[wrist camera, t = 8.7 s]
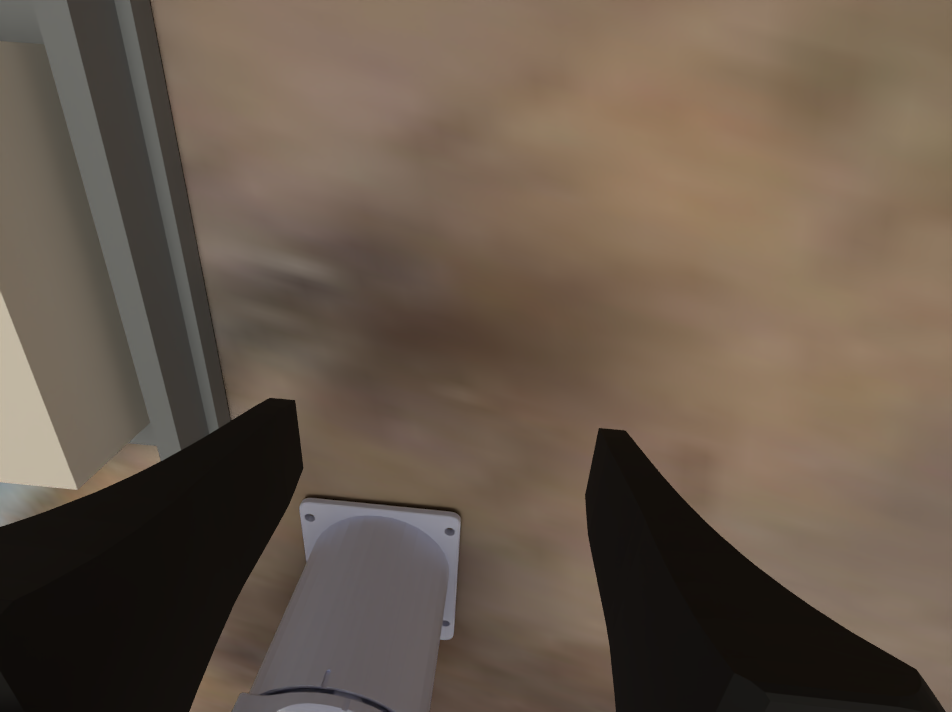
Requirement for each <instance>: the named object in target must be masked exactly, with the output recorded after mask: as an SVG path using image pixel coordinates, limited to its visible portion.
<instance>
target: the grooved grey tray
mask: <svg viewBox="0 0 952 712" xmlns="http://www.w3.org/2000/svg"><path fill="white" fill-rule="evenodd" d="M0 41H6V42H20V43H34V44H44V45H45V49H46V52H47V56H48V59H49V63H50V66H51V70H52V74H53V77H54V81H55V84H56V88H57V91H58V95H59V99H60V102H61V106H62V109H63V113H64V116H65V120H66V124H67V127H68V131H69V134H70V138H71V141H72V145H73V149H74V152H75V156H76V159H77V163H78V166H79V170H80V174H81V177H82V181H83V184H84V188H85V191H86V195H87V199H88V202H89V206H90V209H91V213H92V216H93V220H94V224H95V227H96V231H97V234H98V238H99V241H100V245H101V248H102V252H103V256H104V259H105V263H106V266H107V270H108V273H109V277H110V281H111V284H112V288H113V291H114V295H115V298H116V302H117V306H118V309H119V313H120V316H121V320H122V323H123V327H124V331H125V334H126V338H127V341H128V345H129V348H130V352H131V356H132V359H133V363H134V366H135V370H136V373H137V377H138V381H139V384H140V388H141V391H142V395H143V398H144V402H145V406H146V409H147V413H148V416H149V420H150V423H149V424H148V425H147V426H146V427H145V428H144V429H143V430H142V431H140V432H139V433H138V434H137V435H136V436H135V437H134V438H133V439H132V440H131V441H130V442H129V443H133V444H143V445H154V446H157V448H158V452H159V456H160V459H161V461H162V460H164V459H166V458H168V457H170V456H171V455H173V454H175V453H177V452H179V451H181V450H182V449H184V448H186V447H188V446H190V445H191V444H193V443H195V442H197V441H199V440H200V439H202V438H204V437H205V436H207V435H209V434H210V433H212V432H214V431H215V430H217V429H218V428H220V427H222V426H223V425H225V424H227V423H228V422H230V421H231V420H230V415H229V410H228V404H227V399H226V394H225V389H224V384H223V379H222V373H221V368H220V363H219V358H218V353H217V347H216V342H215V337H214V332H213V327H212V322H211V316H210V311H209V306H208V301H207V296H206V290H205V285H204V280H203V275H202V270H201V265H200V259H199V254H198V249H197V244H196V239H195V234H194V228H193V223H192V218H191V213H190V208H189V202H188V197H187V192H186V187H185V182H184V177H183V171H182V166H181V161H180V156H179V151H178V145H177V140H176V135H175V130H174V125H173V120H172V114H171V109H170V104H169V99H168V94H167V88H166V83H165V78H164V73H163V68H162V63H161V57H160V52H159V47H158V42H157V37H156V31H155V26H154V21H153V16H152V11H151V6H150V0H0Z"/></svg>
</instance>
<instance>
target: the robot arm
mask: <svg viewBox="0 0 952 712" xmlns="http://www.w3.org/2000/svg"><path fill="white" fill-rule="evenodd" d="M302 470H303V461H302V453H301V445H300V437H299V428H298V420H297V412H296V403H295V400H286V399H275V398H269V399H267V400H265V401H264V402H262V403H260V404H258V405H256V406H255V407H253V408H251V409H250V410H248V411H246V412H245V413H243V414H241V415H240V416H238V417H237V418H235V419H233V420H232V421H230V422H228V423H227V424H225V425H223V426H222V427H220V428H218V429H217V430H215V431H214V432H212V433H210V434H209V435H207V436H205V437H204V438H202V439H200V440H199V441H197V442H195V443H193V444H191V445H190V446H188V447H186V448H184V449H182V450H181V451H179V452H177V453H175V454H173V455H171V456H170V457H168V458H166V459H164V460H162V461H161V462H159V463H157V464H155V465H153V466H151V467H149V468H147V469H145V470H143V471H141V472H139V473H137V474H135V475H133V476H131V477H129V478H126V479H124V480H122V481H120V482H118V483H115V484H113V485H111V486H109V487H107V488H104V489H102V490H100V491H97V492H95V493H92V494H90V495H87V496H85V497H82V498H80V499H77V500H74V501H72V502H69V503H67V504H64V505H62V506H59V507H56V508H54V509H51V510H49V511H46V512H43V513H41V514H38V515H35V516H32V517H29V518H26V519H23V520H20V521H17V522H14V523H11V524H8V525H5V526H2V527H0V712H189V711H190V708H191V706H192V703H193V700H194V698H195V695H196V693H197V690H198V688H199V685H200V683H201V680H202V678H203V675H204V673H205V671H206V668H207V666H208V663H209V661H210V658H211V656H212V654H213V651H214V649H215V646H216V644H217V642H218V639H219V637H220V635H221V633H222V630H223V628H224V626H225V623H226V621H227V619H228V617H229V614H230V612H231V610H232V608H233V605H234V603H235V601H236V599H237V597H238V596H239V594H240V592H241V590H242V588H243V586H244V584H245V582H246V580H247V579H248V577H249V575H250V573H251V572H252V570H253V568H254V566H255V565H256V563H257V561H258V559H259V558H260V556H261V554H262V552H263V550H264V549H265V547H266V545H267V543H268V542H269V540H270V538H271V536H272V535H273V533H274V531H275V529H276V527H277V526H278V524H279V522H280V520H281V518H282V517H283V515H284V513H285V511H286V509H287V507H288V505H289V503H290V501H291V498H292V496H293V494H294V491H295V489H296V486H297V483H298V481H299V478H300V475H301V473H302ZM585 500H586V515H587V527H588V537H589V542H590V547H591V552H592V557H593V562H594V567H595V572H596V577H597V582H598V587H599V592H600V597H601V602H602V606H603V611H604V616H605V621H606V626H607V633H608V639H609V645H610V654H611V664H612V674H613V683H614V693H615V704H616V712H945V710H944V709H943V707H942V706H941V704H940V703H939V701H938V700H937V698H936V697H935V695H934V694H933V692H932V691H931V689H930V688H929V686H928V685H927V683H926V682H925V681H924V679H923V678H922V677H921V675H920V674H919V673H918V671H917V670H916V669H915V668H913V667H911V666H909V665H908V664H906V663H904V662H902V661H901V660H899V659H897V658H895V657H894V656H892V655H890V654H889V653H887V652H885V651H883V650H882V649H880V648H878V647H876V646H875V645H873V644H871V643H869V642H868V641H866V640H864V639H863V638H861V637H859V636H857V635H856V634H854V633H852V632H851V631H849V630H847V629H846V628H844V627H843V626H841V625H839V624H838V623H836V622H835V621H833V620H832V619H830V618H829V617H827V616H826V615H824V614H823V613H821V612H819V611H818V610H816V609H815V608H813V607H812V606H810V605H809V604H807V603H806V602H805V601H803V600H802V599H800V598H799V597H797V596H796V595H794V594H793V593H792V592H790V591H789V590H787V589H786V588H785V587H783V586H782V585H781V584H779V583H778V582H777V581H775V580H774V579H773V578H771V577H770V576H769V575H767V574H766V573H765V572H763V571H762V570H761V569H759V568H758V567H757V566H756V565H754V564H753V563H752V562H751V561H749V560H748V559H747V558H746V557H745V556H743V555H742V554H741V553H740V552H739V551H738V550H736V549H735V548H734V547H733V546H732V545H731V544H729V543H728V542H727V541H726V540H725V539H724V538H723V537H721V536H720V535H719V534H718V533H717V532H716V531H715V530H714V529H713V528H712V527H711V526H709V525H708V524H707V523H706V522H705V521H704V520H703V519H702V518H701V517H700V516H699V515H698V514H697V513H696V512H695V511H694V510H693V509H692V508H691V507H690V506H689V505H688V504H687V502H686V501H685V500H684V499H683V498H682V497H681V496H680V495H679V494H678V493H677V492H676V491H675V490H674V488H673V487H672V486H671V485H670V484H669V483H668V482H667V480H666V479H665V478H664V477H663V476H662V475H661V474H660V472H659V471H658V470H657V469H656V468H655V466H654V465H653V464H652V463H651V461H650V460H649V459H648V458H647V457H646V455H645V454H644V453H643V452H642V450H641V449H640V448H639V447H638V445H637V444H636V443H635V442H634V440H633V439H632V438H631V437H630V436H629V434H628V433H627V432H626V431H624V430H613V429H602V428H599V431H598V435H597V440H596V445H595V450H594V455H593V460H592V465H591V469H590V474H589V479H588V484H587V489H586V494H585ZM299 510H300V518H301V526H302V533H303V541H304V548H305V556H306V565H305V568H304V570H303V572H302V574H301V577H300V579H299V581H298V583H297V586H296V588H295V590H294V592H293V595H292V597H291V599H290V601H289V604H288V606H287V608H286V610H285V613H284V615H283V617H282V620H281V622H280V624H279V626H278V629H277V631H276V633H275V635H274V638H273V640H272V642H271V644H270V647H269V649H268V651H267V653H266V656H265V658H264V660H263V663H262V665H261V667H260V669H259V672H258V674H257V676H256V678H255V681H254V683H253V685H252V687H251V690H250V692H249V694H248V693H240V695H239V697H238V699H237V701H236V703H235V705H234V708H233V710H232V712H430V705H431V698H432V691H433V684H434V677H435V670H436V664H437V657H438V650H439V643H440V640H449V639H451V638H452V637H453V635H454V624H455V608H456V592H457V575H458V559H459V543H460V527H461V518H460V516H459V515H458V514H457V513H455V512H450V511H440V510H430V509H420V508H410V507H399V506H389V505H379V504H369V503H359V502H349V501H339V500H329V499H318V498H305V499H304V500H303V501H302V502H301V504H300V507H299ZM309 514H312V515H313V516H311V515H309ZM447 528H452V529H453V530H450V529H447Z"/></svg>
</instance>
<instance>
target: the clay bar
mask: <svg viewBox="0 0 952 712" xmlns="http://www.w3.org/2000/svg"><path fill="white" fill-rule="evenodd" d="M149 423H150V420H149V416H148V413H147V409H146V406H145V402H144V398H143V395H142V391H141V388H140V384H139V381H138V377H137V373H136V370H135V366H134V363H133V359H132V356H131V352H130V348H129V345H128V341H127V338H126V334H125V331H124V327H123V323H122V320H121V316H120V313H119V309H118V306H117V302H116V298H115V295H114V291H113V288H112V284H111V281H110V277H109V273H108V270H107V266H106V263H105V259H104V256H103V252H102V248H101V245H100V241H99V238H98V234H97V231H96V227H95V224H94V220H93V216H92V213H91V209H90V206H89V202H88V199H87V195H86V191H85V188H84V184H83V181H82V177H81V174H80V170H79V166H78V163H77V159H76V156H75V152H74V149H73V145H72V141H71V138H70V134H69V131H68V127H67V124H66V120H65V116H64V113H63V109H62V106H61V102H60V99H59V95H58V91H57V88H56V84H55V81H54V77H53V74H52V70H51V66H50V63H49V59H48V56H47V52H46V49H45V45H44V44H34V43H20V42H6V41H0V482H4V483H14V484H24V485H35V486H45V487H55V488H65V489H75V490H78V489H79V488H80V487H81V486H82V485H83V484H84V483H86V482H87V481H88V480H89V479H90V478H91V477H92V476H93V475H94V474H95V473H96V472H97V471H98V470H100V469H101V468H102V467H103V466H104V465H105V464H106V463H107V462H108V461H109V460H110V459H111V458H112V457H114V456H115V455H116V454H117V453H118V452H119V451H120V450H121V449H122V448H123V447H124V446H125V445H126V444H128V443H129V442H130V441H131V440H132V439H133V438H134V437H135V436H136V435H137V434H138V433H139V432H140V431H142V430H143V429H144V428H145V427H146V426H147V425H148V424H149Z"/></svg>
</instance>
